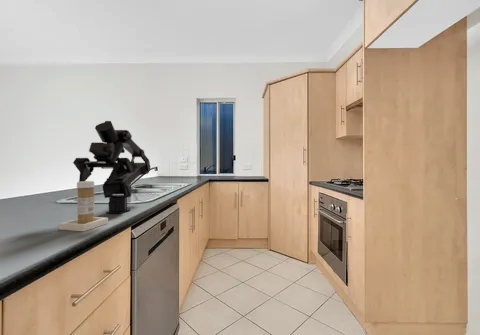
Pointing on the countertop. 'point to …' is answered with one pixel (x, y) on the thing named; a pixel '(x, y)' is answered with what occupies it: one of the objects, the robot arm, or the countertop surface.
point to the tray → (82, 227)
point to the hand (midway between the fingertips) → (94, 183)
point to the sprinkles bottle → (85, 202)
